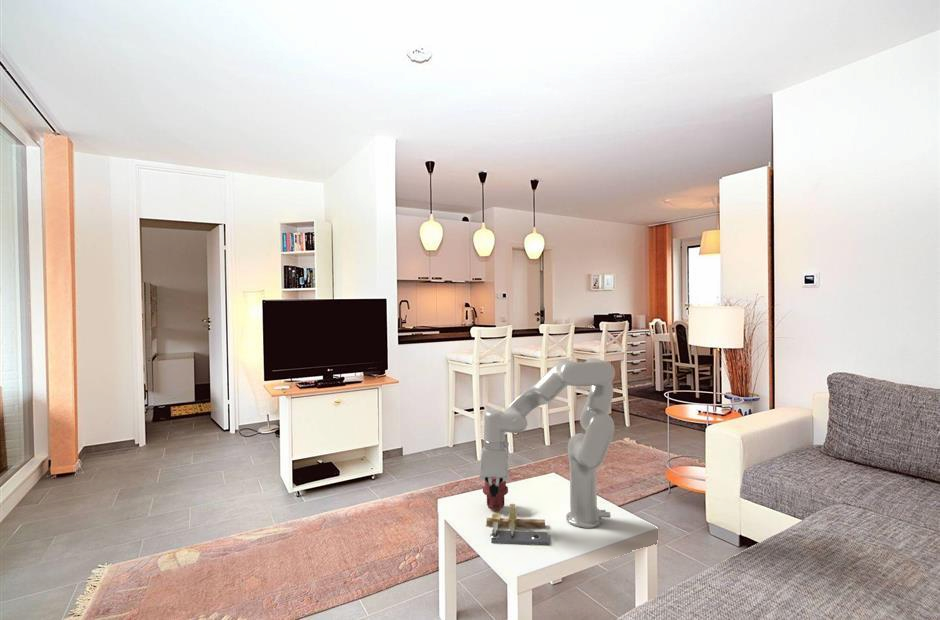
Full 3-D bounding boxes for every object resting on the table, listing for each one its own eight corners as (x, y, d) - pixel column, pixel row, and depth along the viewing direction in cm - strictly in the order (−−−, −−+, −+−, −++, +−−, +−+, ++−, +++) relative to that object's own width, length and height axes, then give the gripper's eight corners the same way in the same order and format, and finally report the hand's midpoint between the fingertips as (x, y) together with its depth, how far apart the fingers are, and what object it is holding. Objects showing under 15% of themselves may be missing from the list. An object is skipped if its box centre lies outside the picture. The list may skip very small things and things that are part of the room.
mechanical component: (502, 516, 173) (478, 511, 178) (512, 506, 182) (489, 501, 187) (501, 483, 173) (478, 479, 178) (511, 475, 182) (489, 471, 187)
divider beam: (544, 523, 166) (544, 514, 166) (546, 541, 154) (546, 532, 154) (487, 521, 169) (487, 513, 169) (484, 539, 156) (484, 529, 156)
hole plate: (547, 534, 158) (547, 531, 158) (548, 545, 151) (548, 541, 151) (490, 532, 160) (490, 529, 160) (489, 542, 153) (489, 539, 153)
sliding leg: (517, 522, 168) (516, 503, 168) (516, 539, 155) (516, 519, 155) (508, 522, 168) (508, 502, 168) (507, 539, 155) (507, 518, 155)
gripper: (515, 443, 169) (514, 492, 169) (475, 441, 171) (474, 490, 171) (514, 449, 162) (514, 501, 162) (472, 447, 163) (472, 498, 163)
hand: (493, 495), depth 166 cm, fingers closed
